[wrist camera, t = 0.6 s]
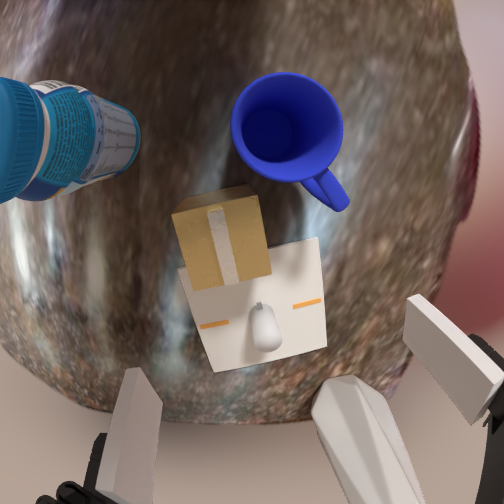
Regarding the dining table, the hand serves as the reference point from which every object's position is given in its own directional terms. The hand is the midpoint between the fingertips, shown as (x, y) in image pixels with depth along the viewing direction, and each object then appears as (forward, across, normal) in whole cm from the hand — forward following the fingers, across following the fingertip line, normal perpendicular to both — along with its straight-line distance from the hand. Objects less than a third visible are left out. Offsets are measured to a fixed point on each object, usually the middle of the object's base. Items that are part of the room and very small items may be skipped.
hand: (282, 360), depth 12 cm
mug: (+20, +6, +8) cm, 22 cm away
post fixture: (+20, 0, -10) cm, 22 cm away
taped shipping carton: (+20, -2, +2) cm, 20 cm away
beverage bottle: (+20, -12, +14) cm, 27 cm away
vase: (+20, +9, -29) cm, 37 cm away
